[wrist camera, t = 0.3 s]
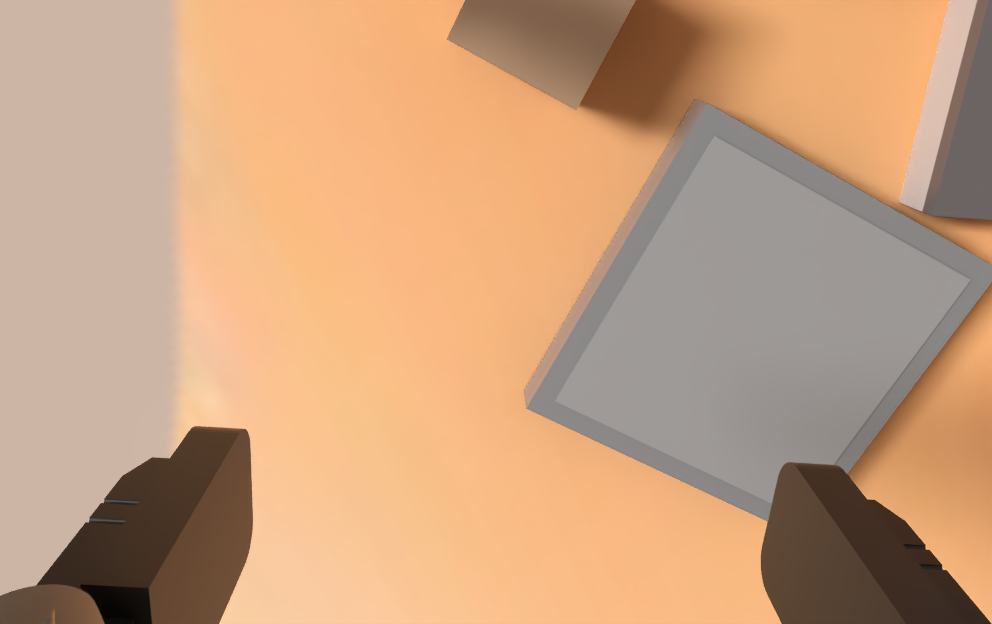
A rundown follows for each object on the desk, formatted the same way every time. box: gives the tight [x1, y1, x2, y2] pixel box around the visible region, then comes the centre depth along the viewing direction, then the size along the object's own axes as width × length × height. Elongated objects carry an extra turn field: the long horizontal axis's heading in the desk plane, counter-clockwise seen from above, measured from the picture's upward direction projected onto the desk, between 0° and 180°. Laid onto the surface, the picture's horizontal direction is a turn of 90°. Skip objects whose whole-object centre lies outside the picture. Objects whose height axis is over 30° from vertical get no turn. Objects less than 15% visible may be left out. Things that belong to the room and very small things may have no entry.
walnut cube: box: [447, 0, 636, 110], centre depth 32 cm, size 6×6×6 cm
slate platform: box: [524, 99, 992, 521], centre depth 38 cm, size 16×16×2 cm
